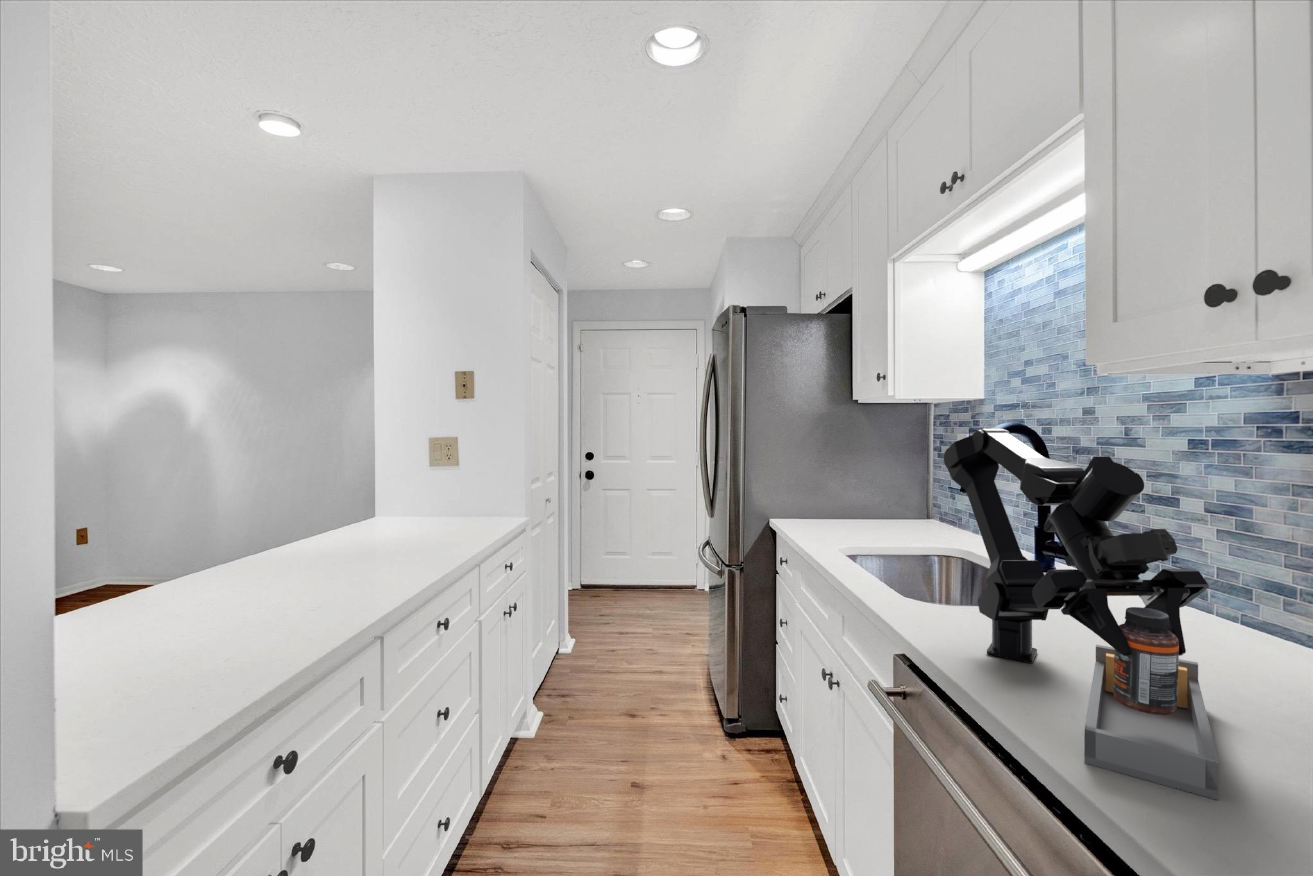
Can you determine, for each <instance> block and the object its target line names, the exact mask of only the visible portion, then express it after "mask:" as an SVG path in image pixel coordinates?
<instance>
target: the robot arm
mask: <svg viewBox="0 0 1313 876" xmlns="http://www.w3.org/2000/svg"><path fill="white" fill-rule="evenodd" d="M943 463H944V466H945V467H946V469H947V471H948V473H949V475H950V477H951V479H952V481H953V482H955V483H956V484H957V485H959V486H960V487H961V488H962V489H963V490H965V493H966V495H967V498H968V500H969V503H970V506H971V510H972V512H973V515H974V517H975V518H974V519H975V521H976V524H977V526H978V527H977V528H978V529H979V532H980V535H981V539H982V542H983V544H984V547H985V549H986V553H987V557H988V559H989V562H990V565H989V568H988V572H987V574H986V577H985V582H986V588H985V589H984V590H983V592H982V593H981V595H980V596H979V597H978V598H977V604H978V606H977V607H978V610H979V613H980V614H982V615H983V616H986V617H987V618H989V619H991V622H992V623H991V625H992V626H991V627H992V628H991V630H992V633H991V643H990V645H989V646H988V648H987V649H986V654H987V655H989V654H990V656H995V657H1000V658H1006V659H1010V660H1013V661H1014V660H1016V661H1020V662H1024V663H1029V664H1030V663H1031V664H1032V663H1033V662H1034V660H1035V657H1036V655H1037V653H1038V649H1037V648H1036V647H1033V621H1047V618H1048V613H1049V610H1060V611H1061V614H1062V615H1064V616H1070V617H1071V618H1072V619H1074V620H1076V621H1077V622H1079V623H1080V624H1082V625H1083V626H1085V627H1086V628H1087V629H1089V631H1092V632H1093V633H1094V634H1096V636H1098V637H1099V638H1100V639H1102V640H1103V641H1104V642H1105V643H1107V644H1108V645H1110V647H1113V648H1114V649H1116V650H1117V651H1118V652H1119V653H1121V654H1122V655H1123V656H1128V655H1129V654H1131V649H1130V647H1129V645H1128V642H1127V640H1126V638H1125V636H1124V634H1123V632H1122V631H1121V629H1120V627H1119V625H1120V624H1118V622H1117V620H1116V618H1115V616H1114V615H1113V612H1112V611H1111V609H1110V606H1109V601H1108V597H1114V596H1117V597H1118V596H1119V597H1120V596H1121V597H1122V596H1123V597H1129V596H1131V597H1133V596H1134V597H1136V596H1137V597H1139V598H1140V599H1141V601H1142V603H1143V604H1144V607H1143V608H1149V609H1153V610H1158V611H1161V612H1164V613H1166V614H1167V615H1168V616H1169V626H1168V627H1167V629H1168V630H1169V631H1170V632H1172V633H1173V634H1174V635H1175V636H1176V637H1177V638H1178V641H1179V657H1180V656H1183V655H1184V654H1186V652H1187V649H1186V644H1185V640H1184V639H1185V638H1184V633H1183V629H1182V623H1181V613H1180V608H1183V607H1186V606H1187V605H1188V604H1189V603H1191V602H1192V601H1193V600H1194V599H1196V598H1197V597H1198V596H1200V595H1201V594H1203V592H1205V591H1207V589H1209V588H1210V585H1209V583H1208V582H1207V580H1206V579H1205V578H1204V576H1203V575H1202V573H1201V572H1200V571H1199V570H1196V569H1192V568H1162V569H1161V570H1160V571H1159V572H1158V573H1157V574H1156V575H1154V576H1153V577H1151V579H1141V578H1140V577H1139V576H1140V575H1141V574H1146V573H1148V571H1149V570H1150V567H1149V566H1148V564H1151V563H1156V562H1159V561H1161V562H1166V561H1168V560H1169V556H1172V555H1175V554H1177V552H1178V546H1177V542H1176V541H1175V539H1174V537H1173V536H1172V535H1171V534H1170V533H1169V531H1168V530H1167V529H1166V528H1152V529H1150V531H1148V530H1147V531H1143V532H1142V533H1141V532H1139V533H1138V532H1135V533H1134V532H1133V533H1131V532H1130V533H1121V534H1118V535H1114V534H1113V532H1112V530H1111V529H1110V527H1109V526H1108V524H1107V523H1106V522H1112V521H1116V520H1117V519H1118V518H1119V517H1120V516H1121V514H1123V513H1124V511H1125V510H1126V509H1127V508H1128V507H1129V506H1130V505H1131V504H1132V503H1133V502H1134V501H1135V500H1136V499H1137V497H1139V495H1140V494H1141V493H1142V492H1143V490H1144V488H1145V482H1144V480H1143V478H1142V476H1141V475H1140V474H1139V473H1138V472H1136V471H1134V470H1133V469H1131V468H1130V467H1128V466H1126V465H1124V464H1121V463H1118V462H1115V461H1113V459H1112V457H1111V456H1110V455H1108V456H1107V455H1105V456H1103V455H1101V456H1099V455H1097V456H1093V457H1092V458H1091V459H1090V460H1089V462H1088V465H1087V467H1086V468H1085V469H1083V468H1082V467H1080V466H1078V465H1075V464H1072V463H1069V462H1067V461H1061V460H1057V459H1050V458H1048V457H1045V456H1043V455H1041V453H1039V452H1038V451H1036V450H1034V449H1032V448H1031V447H1029V446H1028V445H1027V444H1025V443H1023V442H1022V441H1020V440H1019V439H1018V438H1016V437H1014V436H1013V435H1012V434H1011V432H1010V431H1009V430H1007V429H1004V428H981V429H978V430H976V431H974V432H973V433H972V435H969V436H967V437H964V438H962V439H959V440H956V441H955V442H954V441H953V443H952V444H950V445H949V447H948V448H946V449H945V451H944V453H943ZM1000 466H1001V467H1002V468H1004V469H1005V470H1007V471H1008V472H1009V473H1010V474H1011V475H1013V476H1014V477H1015V478H1017V479H1018V481H1020V484H1019V490H1020V491H1021V492H1022V493H1023V495H1024V496H1025V497H1026V498H1027V499H1028V500H1029V501H1030V503H1031V504H1033V505H1035V506H1056V507H1055V508H1054V510H1053V511H1052V512H1049V513H1047V519H1046V521H1045V523H1044V526H1043V530H1044V532H1045V533H1057V535H1058V537H1059V539H1060V541H1061V542H1062V544H1063V546H1064V548H1065V550H1066V552H1067V553H1068V555H1067V556H1066V557H1065V558H1064V562H1065V564H1066V565H1067V567H1075V569H1072V568H1071V569H1069V568H1068V569H1065V568H1064V569H1048V570H1047V571H1046V573H1045V572H1044V570H1043V569H1044V568H1043V566H1042V564H1041V563H1040V562H1039V560H1036V559H1033V560H1032V559H1030V560H1029V559H1027V558H1026V557H1025V556H1024V555H1023V553H1022V551H1021V548H1020V546H1019V545H1020V544H1019V542H1018V539H1017V537H1016V534H1015V532H1014V530H1013V527H1012V524H1011V521H1010V519H1009V516H1008V514H1007V510H1006V508H1005V505H1004V503H1003V500H1002V497H1001V494H1000V492H999V490H998V487H997V485H996V477H997V474H998V472H999V469H1000Z"/></svg>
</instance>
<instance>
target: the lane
mask: <svg viewBox="0 0 1313 876" xmlns="http://www.w3.org/2000/svg"><path fill="white" fill-rule="evenodd" d="M1114 650H1115V649H1114V648H1113V647H1112V646H1107V645H1102V644H1101V645H1100V644H1095V662H1094V668H1093V674H1092V682H1091V687H1090V692H1089V693H1090V694H1089V700H1088V706H1087V712H1086V717H1085V722H1084V723H1085V724H1084V755H1083V756H1084V762H1083V763H1084V764H1086V765H1087V764H1088V765H1092V766H1095V767H1099V768H1101V769H1104V770H1105V769H1106V770H1108V771H1112V772H1117V773H1120V774H1124V775H1127V776H1131V777H1133V778H1138V779H1141V780H1144V781H1149V782H1152V783H1156V784H1159V785H1162V786H1165V787H1166V786H1167V787H1170V788H1173V789H1176V788H1177V789H1176V790H1180V789H1181V790H1180V791H1184V790H1185V791H1184V792H1187V793H1191V792H1192V794H1194V795H1198V794H1199V795H1198V796H1201V795H1203V796H1202V797H1205V796H1206V797H1205V798H1209V797H1210V798H1209V799H1213V800H1217V801H1219V800H1220V799H1219V798H1220V761H1219V757H1218V753H1217V749H1216V746H1215V742H1214V741H1215V740H1214V737H1213V734H1212V729H1211V726H1210V722H1209V718H1208V713H1207V710H1206V705H1205V702H1204V698H1203V694H1202V690H1201V686H1200V682H1199V662H1197V661H1192V660H1191V661H1190V660H1187V659H1182V658H1181V659H1180V658H1179V663H1178V664H1179V667H1185V668H1187V708H1183V707H1178V706H1177V709H1176V711H1175V712H1174V713H1172V714H1170V715H1155V714H1149V713H1145V712H1141V711H1137V710H1135V709H1132V708H1129V707H1127V706H1125V705H1123V704H1122V703H1120V702H1119V701H1118V700H1117V699H1116V698H1115V696H1114V693H1113V692H1108V691H1106V653H1108V654H1113V655H1115V654H1114Z"/></svg>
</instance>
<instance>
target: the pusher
mask: <svg viewBox="0 0 1313 876" xmlns="http://www.w3.org/2000/svg"><path fill="white" fill-rule="evenodd" d="M1113 688H1114V655H1113V654H1108V653H1106V691H1108V692H1113V693H1114V689H1113ZM1177 695H1178V697H1177V706H1178V707H1183V708H1187V668H1185V667H1179V666H1178V694H1177Z"/></svg>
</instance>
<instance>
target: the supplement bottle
mask: <svg viewBox="0 0 1313 876" xmlns="http://www.w3.org/2000/svg"><path fill="white" fill-rule="evenodd" d="M1124 619H1125V621H1124V622H1123V623H1121V624H1118V625H1119V627H1120V629H1121V631H1122V632H1123V634H1124V636H1125V638H1126V640H1127V642H1128V645H1129V647H1130V649H1131V654H1129V655H1128V656H1123V655H1122V654H1121V653H1119V652H1118V651H1117V650H1116V649H1115V650H1114V654H1115V655H1114V688H1113V689H1114V696H1115V698H1116V699H1117V700H1118V701H1119V702H1120V703H1122V704H1123V705H1125V706H1127V707H1129V708H1132V709H1135V710H1137V711H1141V712H1145V713H1149V714H1155V715H1170V714H1172V713H1174V712H1175V711H1176V709H1177V697H1178V695H1177V694H1178V666H1179V664H1178V663H1179V659H1180V656H1179V641H1178V638H1177V637H1176V636H1175V635H1174V634H1173V633H1172V632H1170V631H1169V630H1168V629H1167V627H1168V626H1169V616H1168V615H1167V614H1166V613H1164V612H1161V611H1158V610H1153V609H1149V608H1144V607H1140V606H1139V607H1137V606H1134V607H1133V606H1132V607H1127V608H1126V609H1125V616H1124Z"/></svg>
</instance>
